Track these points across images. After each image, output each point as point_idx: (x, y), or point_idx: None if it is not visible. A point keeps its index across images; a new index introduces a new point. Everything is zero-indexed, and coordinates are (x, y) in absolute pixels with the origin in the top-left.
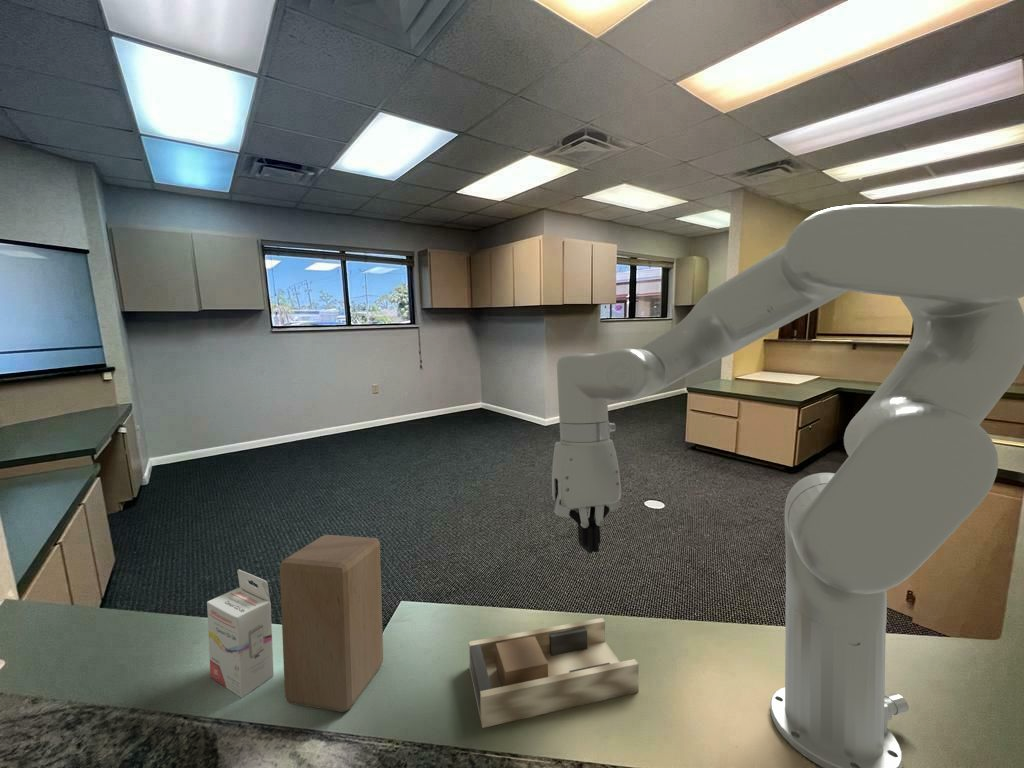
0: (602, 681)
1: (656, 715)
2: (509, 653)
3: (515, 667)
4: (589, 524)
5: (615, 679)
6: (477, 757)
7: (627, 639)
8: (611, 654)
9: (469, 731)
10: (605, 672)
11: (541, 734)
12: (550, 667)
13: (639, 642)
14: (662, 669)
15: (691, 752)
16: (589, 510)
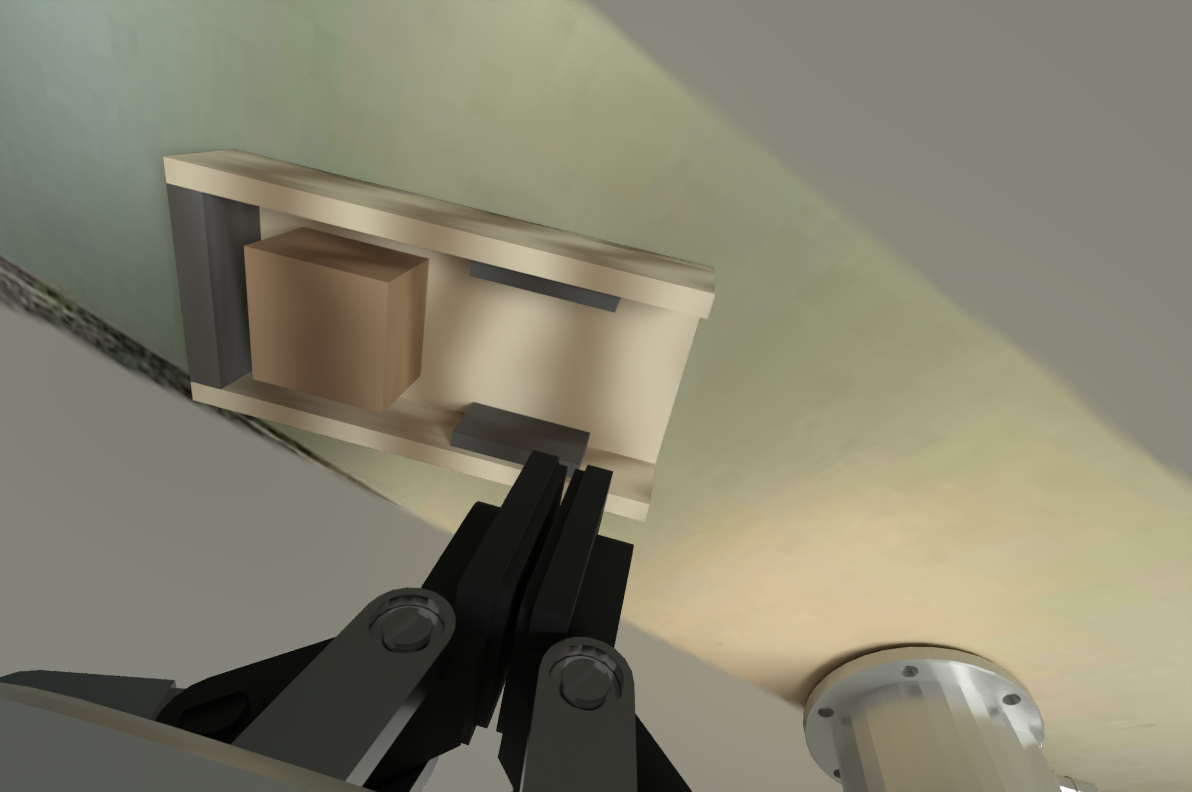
0: None
1: (635, 533)
2: (280, 315)
3: (285, 378)
4: (515, 671)
5: None
6: (233, 419)
7: (805, 303)
8: (678, 352)
9: None
10: None
11: None
12: (465, 301)
13: (829, 337)
14: (779, 454)
15: (629, 609)
16: (523, 766)
